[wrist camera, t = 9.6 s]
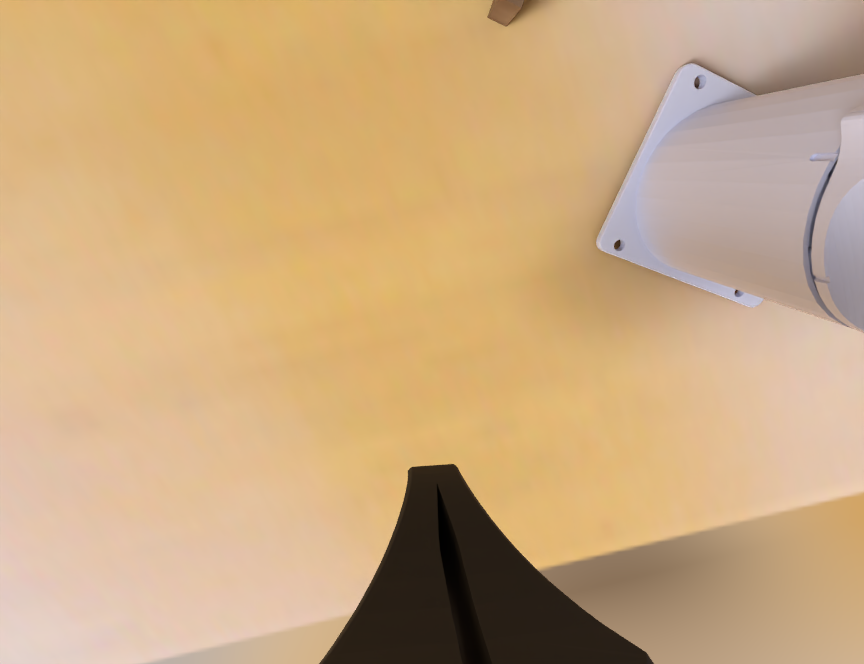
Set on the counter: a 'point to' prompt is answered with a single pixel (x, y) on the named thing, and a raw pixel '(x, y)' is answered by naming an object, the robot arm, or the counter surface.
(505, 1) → the frame
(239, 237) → the counter surface
